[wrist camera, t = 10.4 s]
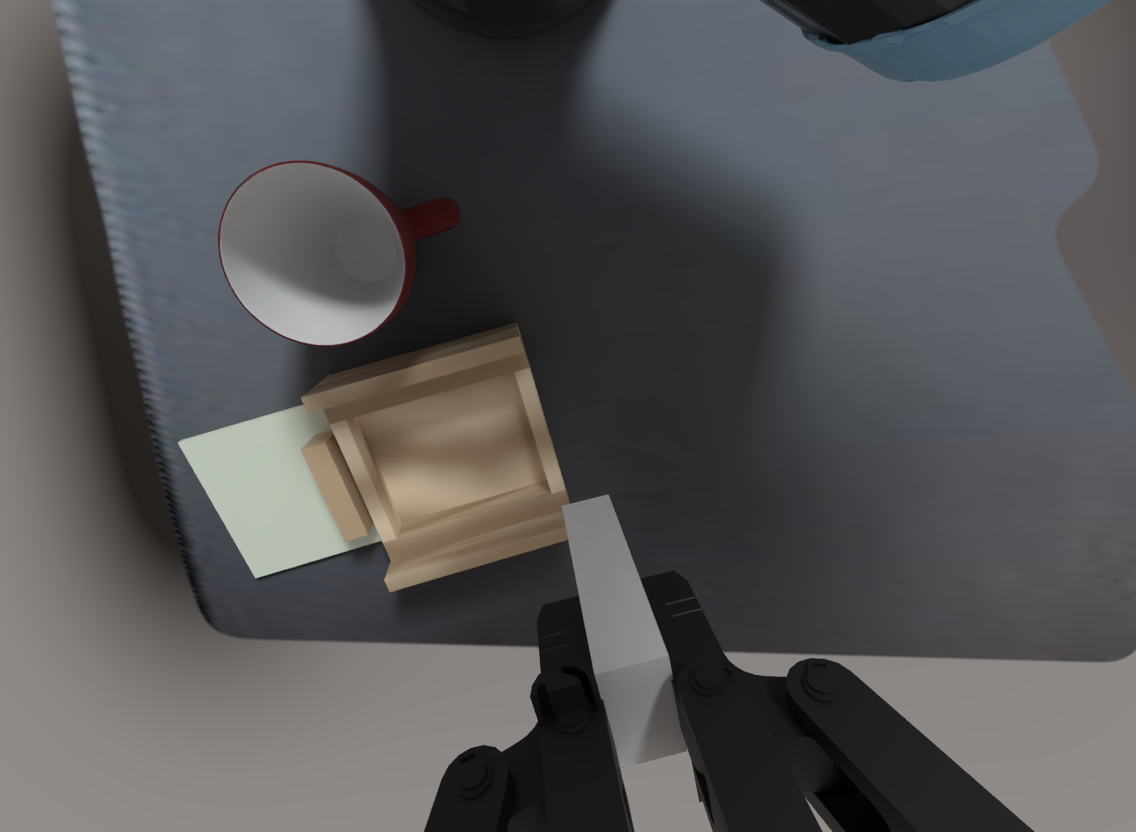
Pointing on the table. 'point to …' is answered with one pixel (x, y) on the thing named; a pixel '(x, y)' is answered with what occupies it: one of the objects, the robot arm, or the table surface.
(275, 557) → the lid
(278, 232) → the mug
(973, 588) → the table surface
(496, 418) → the birch box
